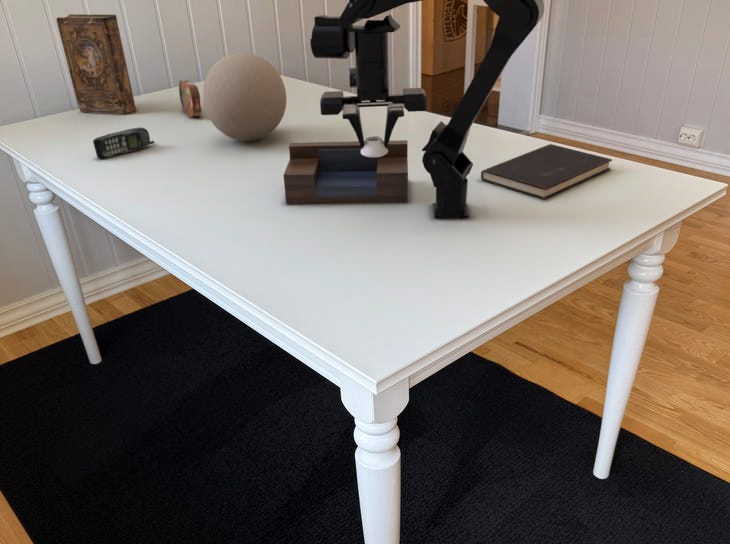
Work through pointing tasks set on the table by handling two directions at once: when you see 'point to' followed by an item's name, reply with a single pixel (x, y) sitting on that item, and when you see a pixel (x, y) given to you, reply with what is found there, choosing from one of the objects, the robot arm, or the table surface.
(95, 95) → the book
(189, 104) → the tin
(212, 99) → the decorative sphere
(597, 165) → the hardcover book
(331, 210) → the table surface
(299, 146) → the toy sofa
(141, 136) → the mobile phone
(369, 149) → the lidless jar
